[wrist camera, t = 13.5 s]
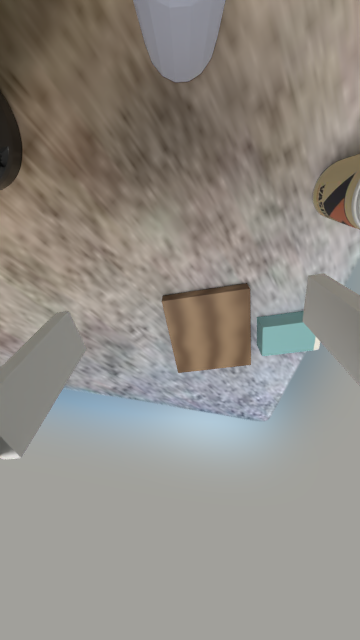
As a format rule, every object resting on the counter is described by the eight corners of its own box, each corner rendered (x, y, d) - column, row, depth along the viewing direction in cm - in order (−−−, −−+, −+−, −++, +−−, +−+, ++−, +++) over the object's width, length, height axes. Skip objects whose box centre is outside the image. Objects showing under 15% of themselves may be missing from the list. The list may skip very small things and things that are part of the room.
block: (262, 356, 46) (318, 349, 45) (262, 327, 42) (324, 319, 41) (256, 344, 49) (309, 337, 48) (256, 317, 46) (313, 309, 45)
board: (178, 365, 52) (178, 372, 50) (162, 295, 43) (161, 301, 41) (247, 357, 51) (250, 364, 49) (246, 283, 42) (250, 288, 40)
